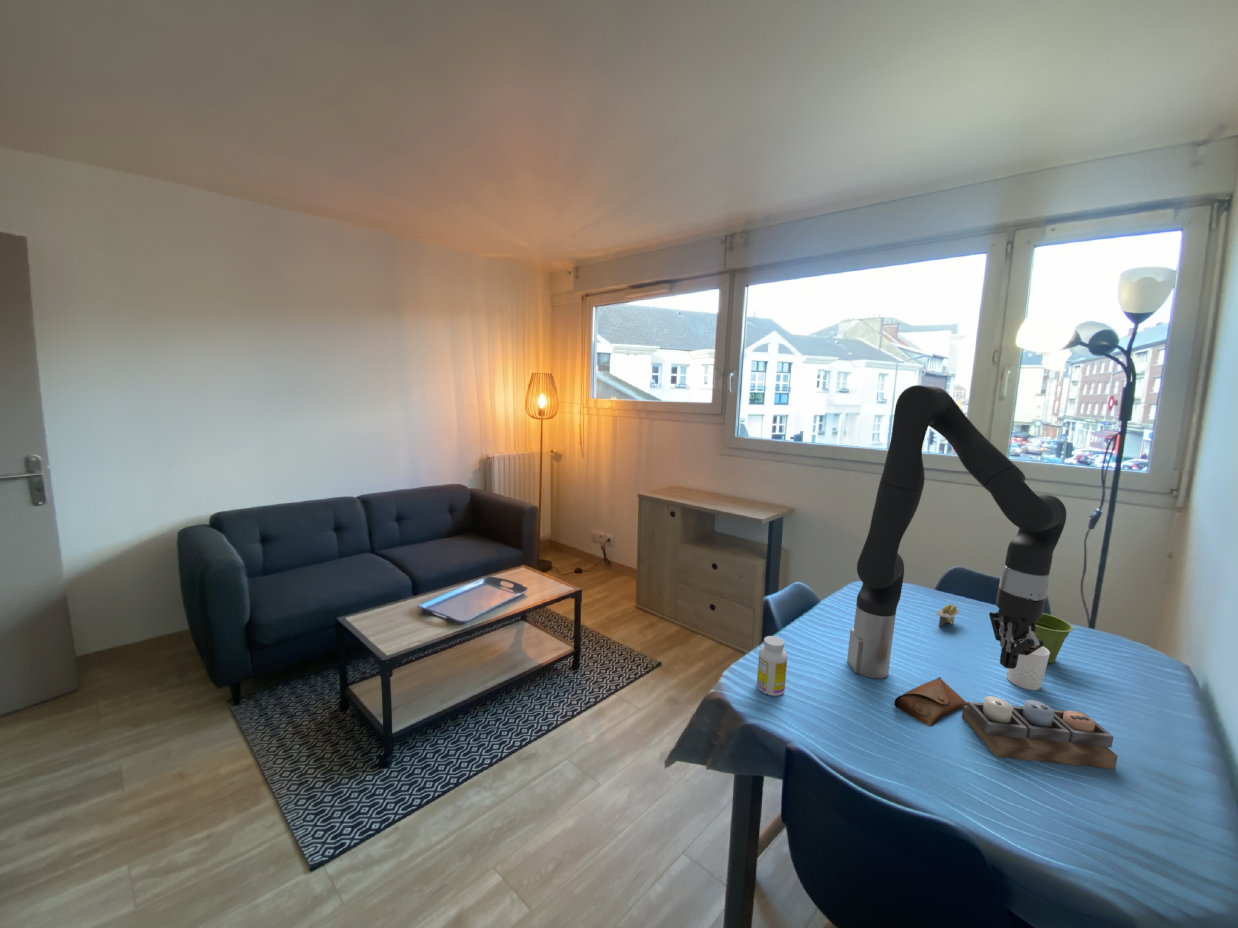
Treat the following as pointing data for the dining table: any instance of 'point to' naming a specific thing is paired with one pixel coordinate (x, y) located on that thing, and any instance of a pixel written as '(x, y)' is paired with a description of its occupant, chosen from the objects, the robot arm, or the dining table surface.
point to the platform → (947, 614)
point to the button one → (997, 709)
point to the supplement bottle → (772, 666)
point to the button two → (1038, 713)
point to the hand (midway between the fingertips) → (1007, 666)
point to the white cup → (1029, 669)
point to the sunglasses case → (930, 702)
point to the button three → (1079, 721)
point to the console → (1041, 739)
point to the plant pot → (1052, 633)
